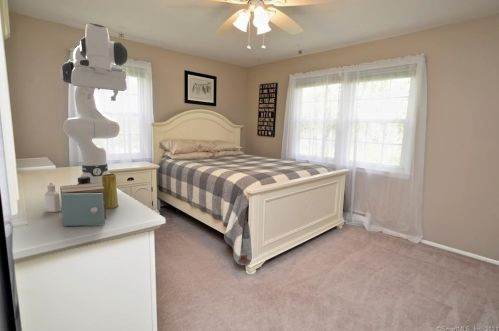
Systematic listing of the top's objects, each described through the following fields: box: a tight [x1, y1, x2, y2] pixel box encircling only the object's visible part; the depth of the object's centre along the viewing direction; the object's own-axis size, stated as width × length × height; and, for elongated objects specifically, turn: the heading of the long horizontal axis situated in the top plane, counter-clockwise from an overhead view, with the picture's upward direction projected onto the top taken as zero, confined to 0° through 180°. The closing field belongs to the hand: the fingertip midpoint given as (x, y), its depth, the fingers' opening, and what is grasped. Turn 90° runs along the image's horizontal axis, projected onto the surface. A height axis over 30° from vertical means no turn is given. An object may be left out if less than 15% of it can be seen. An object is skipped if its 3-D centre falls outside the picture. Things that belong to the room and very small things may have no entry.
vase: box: [102, 173, 119, 210], centre depth 114 cm, size 6×6×14 cm
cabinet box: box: [59, 183, 107, 220], centre depth 100 cm, size 12×13×12 cm
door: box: [60, 193, 105, 227], centre depth 91 cm, size 2×13×11 cm, turn 99°
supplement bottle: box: [76, 176, 91, 185], centre depth 118 cm, size 7×7×12 cm
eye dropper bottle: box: [44, 181, 61, 213], centre depth 107 cm, size 4×6×12 cm
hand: (101, 99), depth 111 cm, fingers open, 8 cm apart
